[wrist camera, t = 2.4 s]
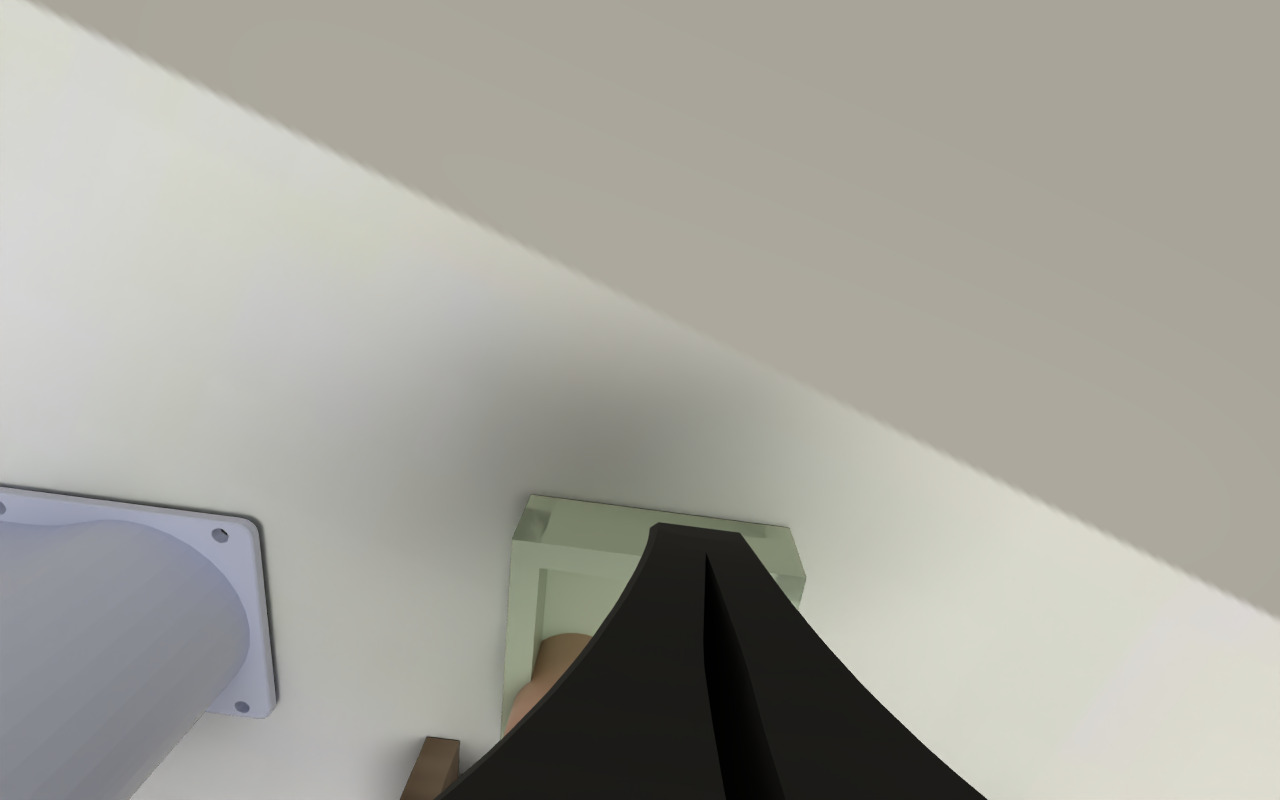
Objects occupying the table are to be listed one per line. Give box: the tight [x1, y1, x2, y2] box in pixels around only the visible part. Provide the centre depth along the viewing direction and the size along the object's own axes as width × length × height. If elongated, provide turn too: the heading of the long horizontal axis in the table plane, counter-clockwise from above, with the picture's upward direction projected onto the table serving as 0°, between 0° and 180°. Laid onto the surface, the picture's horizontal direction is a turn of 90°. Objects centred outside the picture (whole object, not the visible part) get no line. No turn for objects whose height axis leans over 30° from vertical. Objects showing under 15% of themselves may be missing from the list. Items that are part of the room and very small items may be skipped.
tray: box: [500, 495, 806, 740], centre depth 18 cm, size 8×9×5 cm
